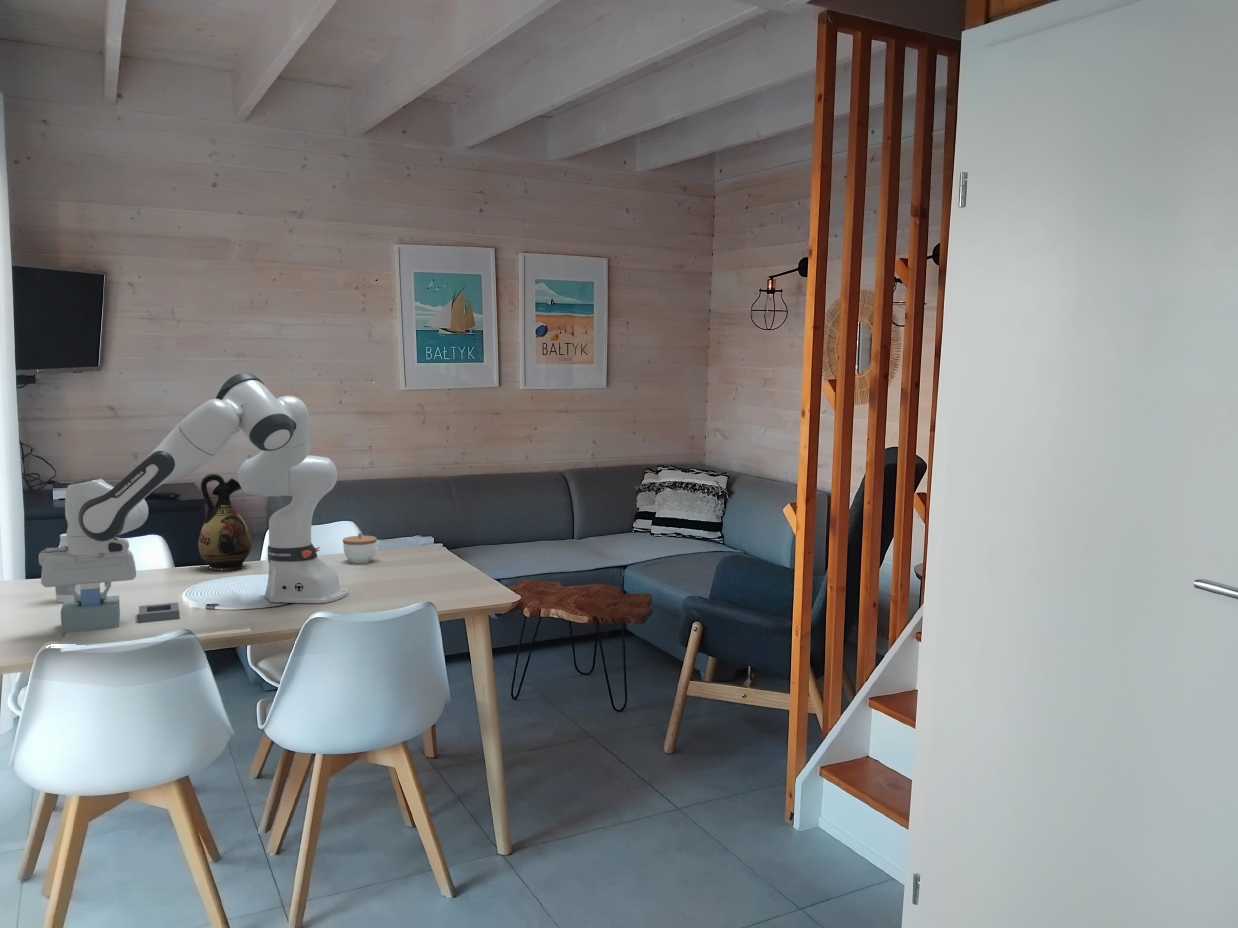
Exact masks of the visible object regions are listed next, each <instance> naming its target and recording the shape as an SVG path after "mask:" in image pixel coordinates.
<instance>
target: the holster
mask: <svg viewBox="0 0 1238 928" xmlns="http://www.w3.org/2000/svg"><path fill="white" fill-rule="evenodd" d="M138 619H139V620H138V621H139V623H140V624H141V623H149V622H150V623H151V622H157V621H158V622H161V621H167V620H168V621H170V620H179V619H181V618H180V606H179V602H169V603H168V602H167V603H161V604H159V603H158V604H146V605H139V606H138Z"/></svg>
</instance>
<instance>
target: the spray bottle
mask: <svg viewBox="0 0 1238 928" xmlns="http://www.w3.org/2000/svg"><path fill="white" fill-rule="evenodd" d="M59 538H60V539H59V547H67V534H66V533H62V534H59ZM74 590H75V591H76V593H77V594H81V592H80V584H79V585H76V588H75V589H74ZM72 599H74V596H73V595H72V594H71V592H70V591H69V587H68V585H67V586H56V587H55V601H56V602H57V603H61V604H63V602H64V600H72Z"/></svg>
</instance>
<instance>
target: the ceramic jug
mask: <svg viewBox="0 0 1238 928" xmlns="http://www.w3.org/2000/svg"><path fill="white" fill-rule="evenodd" d="M214 481H216V482H218V485H217V486H216V487H215V488H214V489H213V490H212V495H213V496H217V502H216V503H215V505H214V503H213V501H212V499H211V497H210V494H209V492H208V486H207V485H208V483H209V482H214ZM200 489H201V492H202V493H201V494H202V496H203V498H204V501H205V504H206V506H207V511H206V512H207V513H206V518H205V522H204V523H203V525H202V526H201V530H200V531H199V537H198V550H199V551H198V552H199V555H200V557H201V559H203V561H204V562H205V563H206V564H207V565H208V569H209V570H212V569H216V570H215V571H219V570H221V569H222V570H226V571H238V570H241V569H242V568H244V567H243V564H244V562H245V561H246V559H247V558H248V556H249V555H250V554H251V550H252V545H253V544H252V537H251V533H250V530H249V528H248V527H249V526H248V525H247V524H246V522H245V520H244V519H243V517H242V516H241V515H240V513H239V512H238V511H237V509H236V508H235V507H234V506H233V504H232V502H231V499H230V496H231V495H233V493H235V492H237V491H240V490H241V489H242V488H241V486H240V484H239V481H237V480H235V479H234V478H233V477H231V478H230V479H228V481H227V482H226V481H225V479H224V478H223V476H221V475H219V474H217V473H216V474H215V473H209V474H207V475H205V476H204V477H203V478H202V479H201V483H200ZM242 490H243V489H242ZM209 567H211V568H209ZM241 567H242V568H241ZM240 568H241V569H240ZM226 571H225V572H226Z"/></svg>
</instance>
